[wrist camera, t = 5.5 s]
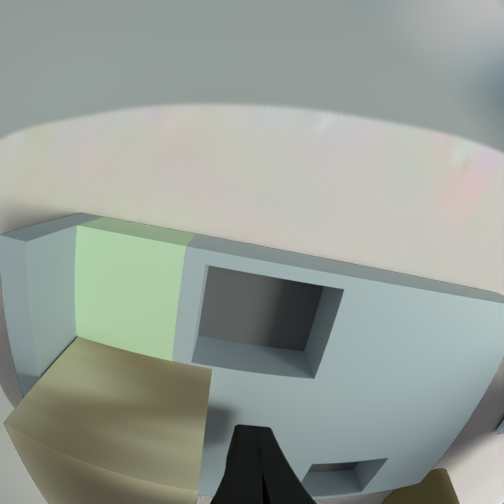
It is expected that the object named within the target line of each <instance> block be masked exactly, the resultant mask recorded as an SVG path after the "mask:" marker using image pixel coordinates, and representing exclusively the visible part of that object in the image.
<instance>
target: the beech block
mask: <svg viewBox="0 0 504 504" xmlns="http://www.w3.org/2000/svg"><path fill="white" fill-rule="evenodd" d="M211 375H212V369H210V368H204V367H199V366H193V365H188V364H183V363H178V362H173V361H169V360H164V359H160V358H155V357H151V356H147V355H143V354H139V353H135V352H131V351H127V350H123V349H119V348H116V347H112V346H108V345H105V344H101V343H98V342H95V341H91V340H88V339H85V338H82V337H79V336H78V337H77V338H76V339H75V340H74V342H73V343H72V344H71V345H70V346H69V347H68V348H67V349H66V350H65V351H64V352H63V353H62V355H61V356H60V357H59V358H58V359H57V360H56V361H55V362H54V363H53V365H52V366H51V367H50V368H49V369H48V370H47V371H46V373H45V374H44V375H43V376H42V377H41V378H40V379H39V381H38V382H37V383H36V384H35V385H34V386H33V388H32V389H31V390H30V391H29V392H28V393H27V395H26V396H25V397H24V398H23V399H22V401H21V402H20V403H19V404H18V405H17V407H16V408H15V409H14V410H13V412H12V413H11V414H10V415H9V417H8V418H7V419H6V420H5V422H4V425H5V427H6V430H7V432H8V434H9V436H10V438H11V440H12V442H13V444H14V446H15V448H16V450H17V452H18V454H19V456H20V458H21V459H22V462H23V463H24V465H25V467H26V469H27V471H28V472H29V474H30V476H31V477H32V479H33V481H34V482H35V484H36V485H37V487H38V489H39V490H40V492H41V493H42V495H43V496H44V498H45V499H46V501H47V502H48V504H196V501H197V496H198V489H199V479H200V470H201V460H202V451H203V442H204V433H205V424H206V416H207V407H208V399H209V391H210V383H211Z"/></svg>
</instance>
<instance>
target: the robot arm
mask: <svg viewBox="0 0 504 504" xmlns="http://www.w3.org/2000/svg"><path fill="white" fill-rule="evenodd" d="M496 433H497V434H498V435H499V434H502V433H504V420H503V421H502V423H501V424H500V426H499V427H498V429H497V430H496ZM210 504H316V502H315V501H314V500H313V499H312V497H311V496H310V495H309V493H308V492H307V491H306V489H305V488H304V486H303V485H302V483H301V482H300V481H299V479H298V477H297V476H296V474H295V473H294V471H293V469H292V468H291V466H290V464H289V463H288V461H287V459H286V457H285V456H284V454H283V452H282V450H281V448H280V446H279V444H278V442H277V440H276V438H275V436H274V433H273V431H272V429H271V428H270V427H263V426H253V425H243V424H238V425H236V426H235V427H234V431H233V435H232V438H231V442H230V446H229V450H228V453H227V457H226V466H225V472H224V476H223V478H222V480H221V482H220V485H219V487H218V489H217V491H216V493H215V495H214V497H213V499H212V501H211V503H210Z"/></svg>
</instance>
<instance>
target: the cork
mask: <svg viewBox="0 0 504 504" xmlns="http://www.w3.org/2000/svg"><path fill="white" fill-rule="evenodd" d="M382 504H459V501H458V498H457V496H456V493H455V490H454V488H453V485H452V483H451V480H450V478H449V475H448V473H447V470H446V469H443V468H441V469H435V470H432V471H430V472H429V473H428V474H427V475H426V476H425V477H424V479H423V480H422V481H421V482H420V483H417V484H414V485H410V486H405V487H401V488H398V489H397V490H395V491H394V492H393V493H391V494H390V495H389V496H388V497H387V498H386V499H385V500H384V502H383V503H382Z"/></svg>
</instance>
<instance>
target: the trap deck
mask: <svg viewBox="0 0 504 504" xmlns="http://www.w3.org/2000/svg"><path fill="white" fill-rule="evenodd" d="M0 274H1V287H2V297H3V305H4V313H5V320H6V326H7V332H8V338H9V343H10V348H11V353H12V357H13V362H14V366H15V370H16V374H17V378H18V382H19V385H20V389H21V392H22V396H23V398H24V397H25V396H26V395H27V393H28V392H29V391H30V390H31V389H32V388H33V386H34V385H35V384H36V383H37V382H38V381H39V379H40V378H41V377H42V376H43V375H44V374H45V373H46V371H47V370H48V369H49V368H50V367H51V366H52V365H53V363H54V362H55V361H56V360H57V359H58V358H59V357H60V356H61V355H62V353H63V352H64V351H65V350H66V349H67V348H68V347H69V346H70V345H71V344H72V343H73V342H74V340H75V339H76V338H77V337H78V336H79V337H82V338H85V339H88V340H91V341H95V342H98V343H101V344H105V345H108V346H112V347H116V348H119V349H123V350H127V351H131V352H135V353H139V354H143V355H147V356H151V357H155V358H160V359H164V360H169V361H173V362H178V363H183V364H188V365H193V366H199V367H204V368H210V369H212V375H211V383H210V391H209V399H208V407H207V416H206V424H205V433H204V442H203V451H202V460H201V470H200V479H199V489H198V495H203V496H210V497H214V495H215V493H216V491H217V489H218V487H219V485H220V482H221V480H222V478H223V476H224V472H225V466H226V457H227V453H228V450H229V446H230V442H231V438H232V435H233V431H234V427H235V426H236V425H238V424H243V425H253V426H263V427H270V428H271V429H272V431H273V433H274V436H275V438H276V440H277V442H278V444H279V446H280V448H281V450H282V452H283V454H284V456H285V457H286V459H287V461H288V463H289V464H290V466H291V468H292V469H293V471H294V473H295V474H296V476H297V477H298V479H299V481H300V482H301V483H302V485H303V486H304V488H305V489H306V491H307V492H308V493H309V495H310V496H311V497H312V499H313V500H321V499H333V498H342V497H351V496H358V495H365V494H371V493H377V492H382V491H387V490H392V489H397V488H401V487H405V486H410V485H414V484H417V483H420V482H421V481H422V480H423V479H424V477H425V476H426V475H427V474H428V473H429V472H430V470H431V469H432V468H433V467H434V466H435V464H436V463H437V462H438V461H439V460H440V458H441V457H442V456H443V454H444V453H445V452H446V451H447V449H448V448H449V447H450V445H451V444H452V443H453V441H454V440H455V439H456V437H457V436H458V434H459V433H460V431H461V430H462V429H463V427H464V426H465V424H466V423H467V421H468V420H469V418H470V417H471V415H472V413H473V412H474V410H475V409H476V407H477V405H478V404H479V402H480V400H481V399H482V397H483V395H484V394H485V392H486V390H487V388H488V387H489V385H490V383H491V381H492V379H493V377H494V375H495V373H496V372H497V370H498V368H499V366H500V364H501V362H502V359H503V357H504V296H503V295H501V294H499V293H495V292H490V291H485V290H481V289H476V288H471V287H466V286H461V285H456V284H451V283H446V282H441V281H436V280H432V279H427V278H422V277H417V276H412V275H407V274H402V273H397V272H392V271H387V270H382V269H377V268H372V267H366V266H361V265H356V264H351V263H346V262H341V261H336V260H331V259H326V258H320V257H315V256H310V255H305V254H300V253H295V252H289V251H284V250H279V249H274V248H268V247H263V246H258V245H253V244H247V243H242V242H237V241H232V240H226V239H221V238H216V237H210V236H205V235H200V234H194V233H189V232H183V231H178V230H173V229H167V228H162V227H156V226H151V225H145V224H140V223H134V222H129V221H123V220H118V219H112V218H107V217H101V216H96V215H90V214H84V213H79V214H75V215H71V216H67V217H63V218H59V219H55V220H51V221H47V222H43V223H39V224H36V225H32V226H28V227H25V228H21V229H18V230H14V231H11V232H7V233H4V234H1V235H0Z"/></svg>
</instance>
